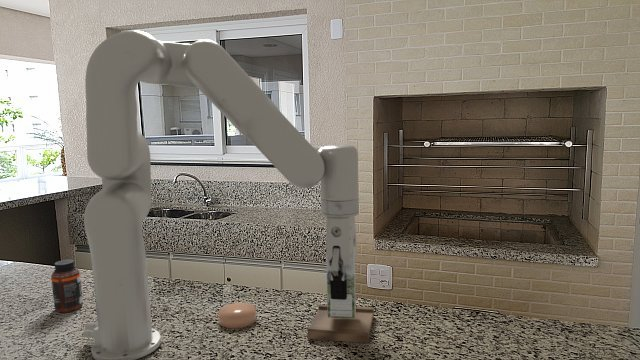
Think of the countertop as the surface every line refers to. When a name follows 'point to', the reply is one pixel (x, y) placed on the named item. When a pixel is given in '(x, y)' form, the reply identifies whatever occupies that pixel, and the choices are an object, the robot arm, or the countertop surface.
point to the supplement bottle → (66, 286)
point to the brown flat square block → (342, 326)
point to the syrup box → (347, 306)
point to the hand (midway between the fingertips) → (341, 291)
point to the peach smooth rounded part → (237, 315)
